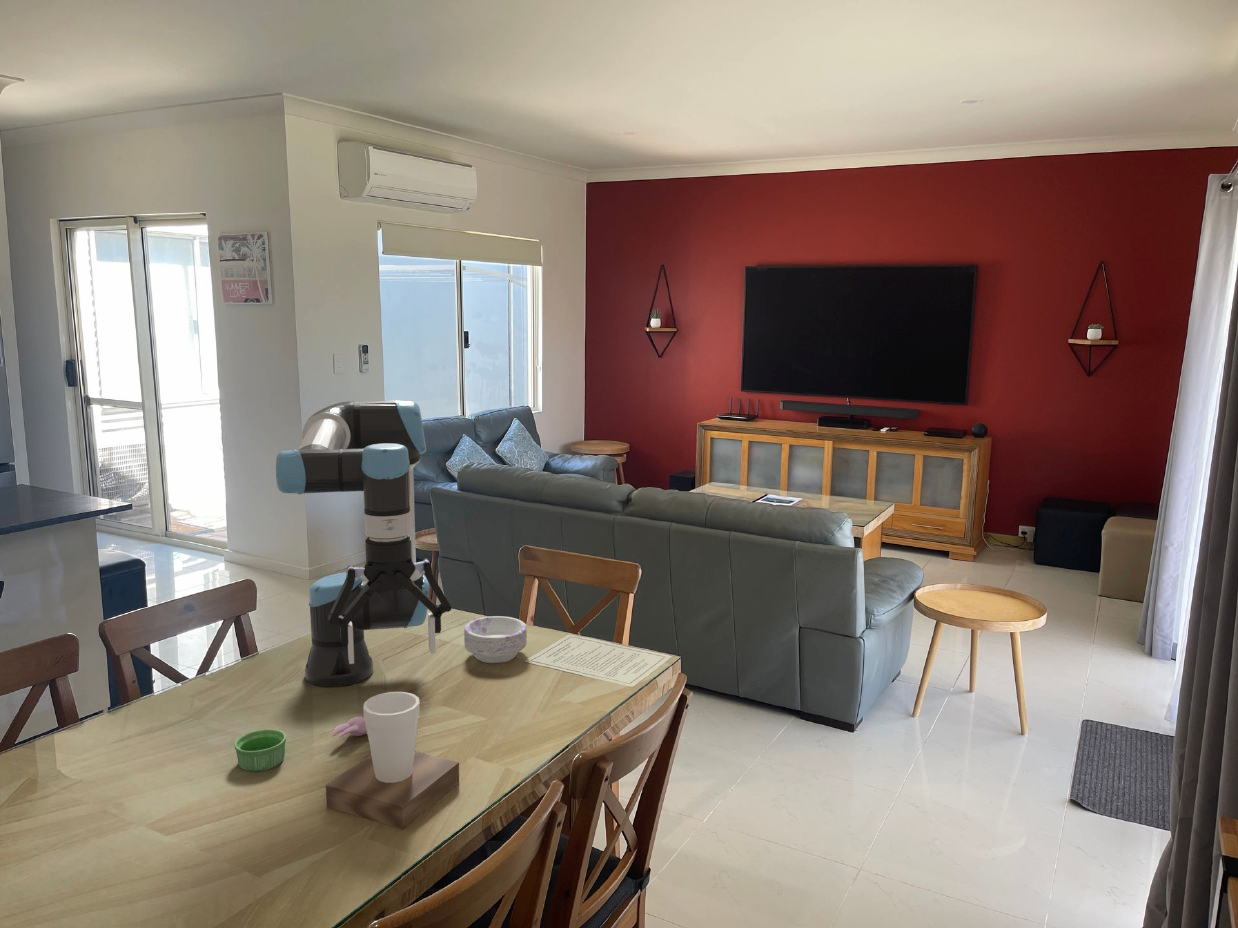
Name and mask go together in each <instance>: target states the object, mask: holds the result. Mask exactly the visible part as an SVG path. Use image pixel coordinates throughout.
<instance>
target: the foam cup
mask: <svg viewBox="0 0 1238 928" xmlns="http://www.w3.org/2000/svg"><path fill="white" fill-rule="evenodd" d="M420 711H421V710H420V697H419V696H417V695H416V694H414V693H411V692H406V691H389V692H383V693H379V694H376V695H374V696H371V697H369V698H368V699H367V700H366V701H365V702H363V718H364V722H365V723H366V729H367V734H366V735H367V738H368V745H369V750H370V755H371V756H372V761H373V767H374V772H375V775H376V778H377V779H378V780H379V781H382V782H385V783H395V782H399V781H403V780H405V779H407V778H409V777H410V776H411V774H412V770H413V764H414V754H415V751H416V743H417V737H418V736H417V734H418V725H419V717H420V715H421V713H420Z"/></svg>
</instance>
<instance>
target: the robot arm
mask: <svg viewBox="0 0 1238 928" xmlns="http://www.w3.org/2000/svg"><path fill="white" fill-rule="evenodd" d="M301 433H302V434H301V438H302V441H301V443H300V445H299V447H298V449H295V448H293V449H290V450H282V451H279V452H278V453H277V454H276V459H275V478H276V485H277V489H278V491H279V492H281V493H283V494H296V495H297V494H298V495H303V494H320V493H346V492H347V493H349V492H350V493H351V492H353V493H354V492H363V502H364V504H363V505H364V508H363V510H364V512H363V514H364V515H363V517H364V519H363V520H364V521H363V523H364V535H365V536H366V537H367V538H366V539H365V541H364V542H365V543H364V544H365V546H364V547H365V564H364V567H355V566H354V565H351V564H349V565H347V568H346V571H345V572H338V573H334V574H330V575H325V576H323V577H322V578H319V579H318V580H316V581H315V582H313V584H311V586H310V589H309V602H308V606H309V611H310V612H309V615H310V616H309V617H310V633H311V635H310V636H311V646H310V649H309V650H310V651H309V653H308V656H307V661H306V664H305V667H304V676H305V677H304V678H305V680H306V681H307V682H308V683H309V684H312V685H315V686H319V687H343V686H348V685H352V684H356V683H359V682H362V681H364V680H366V679H368V678H369V677H371V675H372V674H373V672H374V662H373V658H372V656H371V655H370V652H369V649H368V645H367V643H366V641H365V631H370V630H371V631H373V630H384V629H385V630H386V629H387V630H389V629H402V628H404V629H407V628H411V627H419V626H422V625H423V624H424V623H425V621H426V619H427V627H428V628H427V630H428V633H427V635H428V649H429V652H430V654H432V655H433V654H437V653H436V652H437V651H436V650H437V649H436V634H440V633H441V632H442V615H443V614H445V613H446V612H447V613H449V612H450V611H452V606H451V603H450V602H449V600H448V599H447V597H446V595H445V594H444V592H443V590H442V589H441V586H440V585H439V583H438V581H437V580H436V578H435V576H434V575H433V568H432V564H431V563H430V560H429V559H428V558H424V559H422V560H421V561H418V562H417V559H416V558H417V557H416V556H417V555H416V526H415V525H416V523H415V520H416V519H415V518H416V516H415V486H414V485H415V484H414V468H415V467H416V466H417V465H418V464H419V463H420V462H421V455H423V454H424V453H426V452H427V444H426V439H425V431H424V425H423V420H422V413H421V408H420V406H419V404H418V403H416V402H415V401H410V400H399V399H393V400H391V399H390V400H367V401H366V400H364V401H363V400H361V401H360V400H359V401H355V400H349V401H341V402H337V403H334V404H331V405H329V406H326V407H324V408H321V409H320V410H318V411H317V412H315V413H313V414H312V415H311V416H310V417H308V419H307V420H306V422H305V424H304V426H303V428H302V432H301ZM363 576H364V577H365V578H366V579H364V577H363ZM430 587H431V589H432V591H433V593H434V594H435V596H436V598H437V599H438V601H439V603H440V604H438V605H437V604H436V603H435V602H434V601H433V600H432V599H431V598H430V597H429V596H430ZM428 610H429V611H430V612H428Z"/></svg>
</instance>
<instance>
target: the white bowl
mask: <svg viewBox="0 0 1238 928" xmlns="http://www.w3.org/2000/svg"><path fill="white" fill-rule="evenodd" d="M527 628H528V627H527V624H526V623H525V622H524V621H522V620H520V619H518V618H516V617H515V618H514V617H511V616H503V615H502V616H501V615H498V616H497V615H494V616H484V617H478V618H476V619H473V620H471V621H469V622H468V623H466V624H465V626H464V629H463V633H464V648H465V650H466V651H467V652H469V653H471V654H472V655H473V656H474V657H475V659H476V660H477V661H480V662H483V663H487V664H502V663H506V662H509V661H511V660H513V659H515V657H517V656H518V653H519V652H520V651H522V650H523V649H525V647H526V645H527V642H528V641H527V633H528V632H527V631H528V630H527Z"/></svg>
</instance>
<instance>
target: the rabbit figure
mask: <svg viewBox="0 0 1238 928" xmlns="http://www.w3.org/2000/svg"><path fill="white" fill-rule="evenodd" d="M338 734H340V735H338ZM347 734H350V735H351V736H355V737H361V736H364V735H368V734H367V729H366V723H365V722H364V716H355V717H352V718H351V719H349V720H348V721H347V722H346V723H341V724H339V725H337V726H335V728H334V729H333V732H332V737H335V736H336V735H338V736H337V737H338V738H343V737H344V736H346V735H347Z"/></svg>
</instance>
